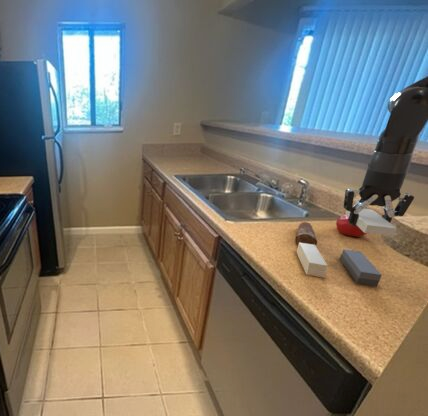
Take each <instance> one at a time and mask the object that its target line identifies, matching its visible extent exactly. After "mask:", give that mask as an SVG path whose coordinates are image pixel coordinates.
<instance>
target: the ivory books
mask: <svg viewBox="0 0 428 416" xmlns="http://www.w3.org/2000/svg"><path fill="white" fill-rule="evenodd" d="M296 255H297V257H298V259H299V261H300V263H301V266H302V268H303V271H304V272H305V274H306V275H307V276H312V277H318V278H323V279H324V278H326V274H327V270H328V263H327V262H326V260H325V259H324V257H323V256H322V254H321V252H320V251H319V249H318V247H317V245H314V244H306V243H299V245H297V248H296Z"/></svg>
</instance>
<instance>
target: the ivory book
mask: <svg viewBox="0 0 428 416" xmlns="http://www.w3.org/2000/svg"><path fill="white" fill-rule="evenodd" d="M345 213H346V214H344V215H347V216H348V217H349V215H350V211H347V210H346V211H345ZM358 214H359V217H358V219H357V222H356V225H357V226H358V227H359V228H360V229H361V230H362V231H363V232H364V233H367V234H371V235H378V236H386V237H387V236H388V237H395V235H396V233H397V230H398V227H396V226H395V225H394V224H392V223H391V222H390V223H389V222H388V221H387V220H385V219H384V218H383V217H382V215H380V214H379V213H378V212H376V211H375V210H374V209H369V208H365V209H363V210H362V211H361V212H359V213H358Z"/></svg>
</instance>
